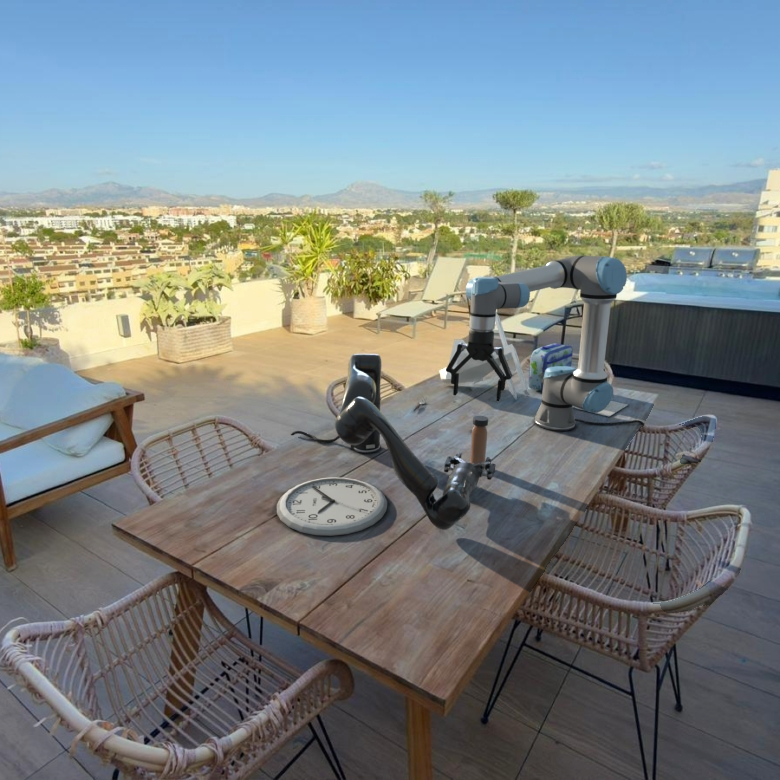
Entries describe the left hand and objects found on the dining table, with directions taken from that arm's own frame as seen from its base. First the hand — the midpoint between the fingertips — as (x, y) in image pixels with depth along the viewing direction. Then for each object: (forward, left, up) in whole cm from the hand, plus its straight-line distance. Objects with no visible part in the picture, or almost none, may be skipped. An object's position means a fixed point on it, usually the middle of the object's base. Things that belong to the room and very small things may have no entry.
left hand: (474, 457), depth 158 cm
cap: (0, +8, +10) cm, 13 cm away
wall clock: (-33, -31, -7) cm, 45 cm away
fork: (-34, +57, -7) cm, 67 cm away
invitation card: (+39, +87, -7) cm, 96 cm away
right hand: (-2, +10, +16) cm, 19 cm away
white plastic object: (-14, +87, -7) cm, 88 cm away
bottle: (0, +8, -7) cm, 10 cm away
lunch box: (+16, +107, -7) cm, 109 cm away
